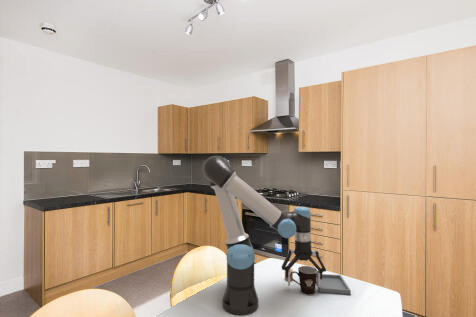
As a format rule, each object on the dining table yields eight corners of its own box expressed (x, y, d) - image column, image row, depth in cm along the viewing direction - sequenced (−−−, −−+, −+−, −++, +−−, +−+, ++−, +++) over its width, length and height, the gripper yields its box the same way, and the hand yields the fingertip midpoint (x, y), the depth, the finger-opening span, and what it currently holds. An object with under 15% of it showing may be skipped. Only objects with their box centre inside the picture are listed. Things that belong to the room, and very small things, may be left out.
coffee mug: (319, 289, 117) (319, 268, 117) (314, 297, 109) (314, 275, 110) (295, 283, 123) (295, 263, 123) (289, 290, 116) (289, 269, 116)
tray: (319, 293, 114) (319, 288, 114) (313, 277, 129) (313, 273, 129) (350, 295, 112) (350, 290, 112) (340, 279, 127) (340, 275, 127)
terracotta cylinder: (285, 281, 125) (285, 271, 125) (284, 277, 129) (284, 268, 129) (293, 281, 125) (292, 271, 125) (292, 278, 129) (292, 268, 129)
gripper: (276, 241, 115) (277, 287, 114) (332, 243, 112) (333, 290, 111) (276, 237, 122) (276, 280, 122) (328, 238, 119) (329, 282, 118)
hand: (303, 285), depth 116 cm, fingers open, 13 cm apart
